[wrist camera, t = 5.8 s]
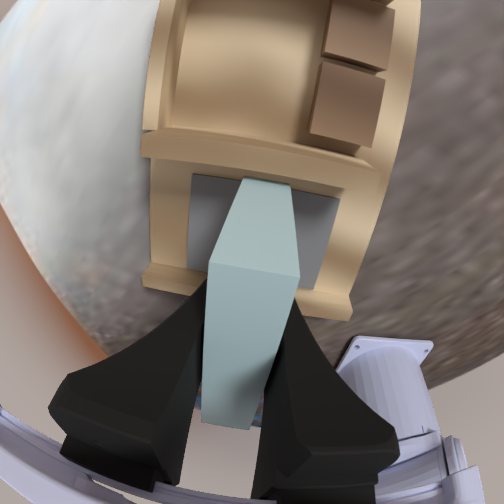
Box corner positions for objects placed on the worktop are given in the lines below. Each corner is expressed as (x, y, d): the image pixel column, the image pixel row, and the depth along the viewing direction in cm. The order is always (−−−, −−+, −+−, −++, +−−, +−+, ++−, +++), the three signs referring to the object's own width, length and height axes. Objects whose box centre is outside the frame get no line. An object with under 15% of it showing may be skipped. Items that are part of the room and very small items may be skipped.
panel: (260, 319, 16) (248, 430, 10) (225, 313, 16) (201, 422, 10) (290, 183, 12) (300, 276, 6) (244, 175, 12) (208, 261, 6)
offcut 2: (362, 143, 13) (371, 148, 12) (306, 129, 13) (309, 133, 12) (375, 81, 12) (385, 79, 10) (318, 65, 12) (323, 61, 10)
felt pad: (313, 287, 18) (313, 289, 18) (187, 266, 18) (186, 268, 18) (339, 198, 15) (340, 199, 15) (192, 173, 15) (191, 174, 15)
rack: (343, 299, 19) (353, 343, 15) (154, 267, 19) (130, 305, 15) (416, 2, 9) (451, -17, 5) (185, -39, 9) (159, -69, 5)
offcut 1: (377, 72, 11) (387, 70, 10) (320, 56, 11) (324, 51, 10) (385, 16, 10) (395, 9, 8) (329, -1, 10) (334, -10, 8)
